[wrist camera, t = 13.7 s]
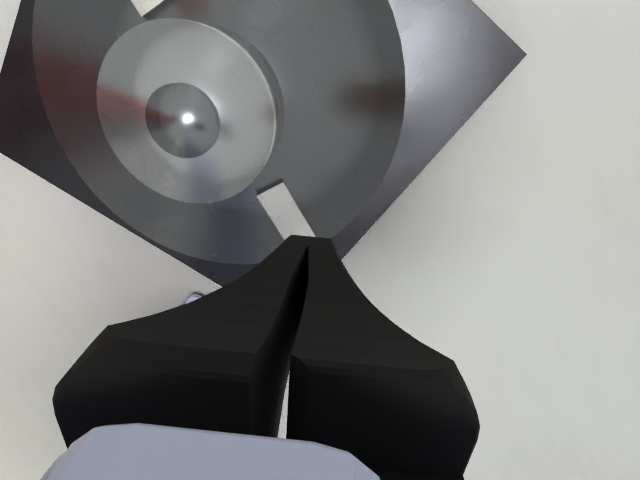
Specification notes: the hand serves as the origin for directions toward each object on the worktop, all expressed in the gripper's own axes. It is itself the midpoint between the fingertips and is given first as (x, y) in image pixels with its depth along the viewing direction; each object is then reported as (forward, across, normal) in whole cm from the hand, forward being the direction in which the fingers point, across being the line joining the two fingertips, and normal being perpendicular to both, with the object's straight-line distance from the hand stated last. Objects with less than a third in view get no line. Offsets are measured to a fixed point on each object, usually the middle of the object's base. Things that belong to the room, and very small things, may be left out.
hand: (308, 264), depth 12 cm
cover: (+8, +6, -3) cm, 10 cm away
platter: (+9, +5, -4) cm, 12 cm away
